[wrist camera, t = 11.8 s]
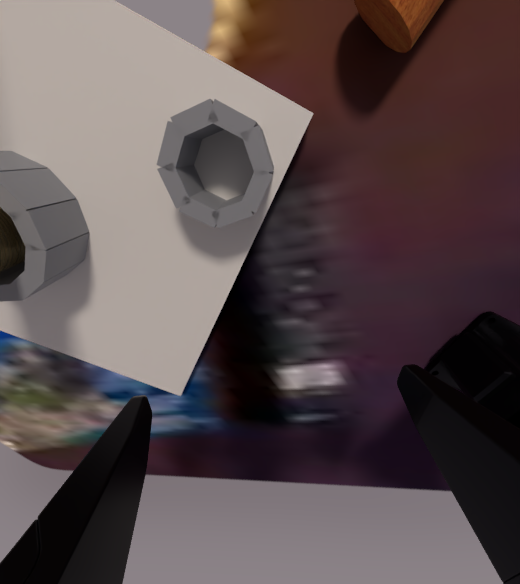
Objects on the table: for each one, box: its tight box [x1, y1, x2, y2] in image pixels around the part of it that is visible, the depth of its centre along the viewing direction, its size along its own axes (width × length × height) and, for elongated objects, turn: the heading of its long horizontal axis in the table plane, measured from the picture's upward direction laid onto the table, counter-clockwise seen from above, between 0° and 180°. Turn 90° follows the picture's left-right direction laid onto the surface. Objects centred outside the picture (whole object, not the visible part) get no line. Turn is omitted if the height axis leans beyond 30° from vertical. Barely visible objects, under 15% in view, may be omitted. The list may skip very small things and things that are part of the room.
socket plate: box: [0, 0, 313, 396], centre depth 16 cm, size 18×22×5 cm
